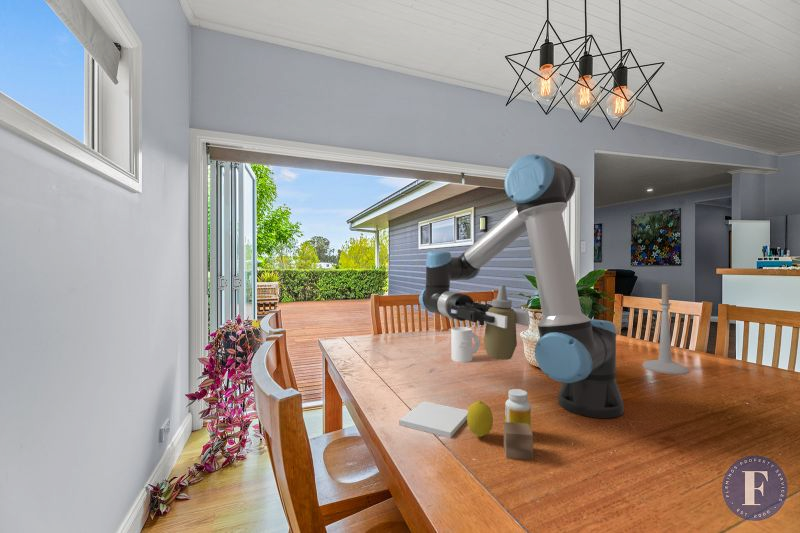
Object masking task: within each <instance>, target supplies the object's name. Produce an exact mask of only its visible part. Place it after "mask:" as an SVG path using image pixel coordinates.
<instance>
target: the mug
mask: <svg viewBox="0 0 800 533" xmlns="http://www.w3.org/2000/svg"><path fill="white" fill-rule="evenodd" d="M450 330H451V332H450V339H451V340H450V342H451V343H450V344H451V345H450V348H451V350H450V353H451V354H450V355H451V356H450V357H451V360H452V361H453V362H456V363H470V362H472V361H473V355H474V354H476V352H477V351H478V350H479V348H480V345H481V339H480V338H479V335H477V334H476V333H475V332H473V329H472V328H471V327H467V326H455V327H452V328H451V329H450ZM473 340H474V345H473Z"/></svg>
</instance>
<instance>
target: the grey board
mask: <svg viewBox="0 0 800 533" xmlns="http://www.w3.org/2000/svg"><path fill="white" fill-rule="evenodd" d="M468 410H469V409H463V408H457V407H453V406H448V405H443V404H438V403H434V402H429V401H424V400H423V401H421V403H419V404H417V405H416V406H415V407H414V408H413V409H411V410H410V411H409V412H407V413H406V414H404V415H403V416H402V417H401V418H399V419H398V425H399V426H401V427H406V428H410V429H413V430H418V431H422V432H425V433H429V434H433V435H438V436H441V437H445V438H450V439H451V438H452V437H453V436H454V435H455V433H456V432H457V431H458V430H460V428H461V427H462V426H463V425H464V423H465V422H467V413H468Z"/></svg>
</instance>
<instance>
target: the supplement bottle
mask: <svg viewBox="0 0 800 533" xmlns="http://www.w3.org/2000/svg"><path fill="white" fill-rule="evenodd" d="M528 396H529V395H528V392H527V391H526V390H525V389H524V390H523V389H520V388H512V389H509V390H508V399H507V400H506V401H505V402H504V403H505V405H504V407H505V408H504V413H505V414H504V416H505V417H504V422H509V423H524V424H529V426H530V429H531V430H532V428H531V427H532V426H531V425H532V424H531V422H532V420H531V419H532V418H531V417H532V416H531V415H532V414H531V412H532V411H531V409H532V407H531V403H530V402H529V401H528V399H529V398H528Z"/></svg>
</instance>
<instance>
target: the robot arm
mask: <svg viewBox="0 0 800 533" xmlns="http://www.w3.org/2000/svg"><path fill="white" fill-rule="evenodd" d="M504 190H505V193H506V195H507V197H508V198H509V199H510V200H511V201H513V202H515V206H514V208H512V209H511V210H510V211H509V212H508V213H507V214H506V215H505V216H503V218H501V219H500V220H499V221H498V222H497V223H496V224H494V225H493V226H492V227H491V228H489V230H488V231H486V232H485V233H484V234H483V235H482V236H480V237H479V239H478V240H476V241H475V242H474V243H473V244H472V245H471V246H469V247H468V249H466V250H465V251H464V252H463V253H461V254H460V255H459V256H458V257H457V256H455V257H453V256H452V255H451V252H450V251H436V250H435V251H434V250H433V251H432V250H430V251H428V252H427V253H426V254H427V255H426V261H425V262H426V263H425V287H424V288H423V289H422V290H421V292H420V294H419V296H418V302H419V305H420V306H421V308H422V309H424V310H426V311H428V312H430V313H432V314H433V313H434V314H437V315H440V316H441V315H442V316H444V317H447V318H448V319H449V320H451V319H454V320H457V321H462V322H463V321H469V322H471V323H477V322H479V324H478V325H479V326H485V324H486V323H488V324H491V325H495V326H498V327H502V328H507V316H503V315H499V314H495V313H491V312H488V309H490V308H491V307H494V306H492V304H490V303H486V304H484V303H480V302H476V301H474V300H473V298H472V297H471V296H470V295H468V294H464V293H459V292H457V291H456V292H455V291H450V287H451V286H450V285H451V281H462V280H463V281H464V280H465V281H468V280H472V279H475V278H477V276H479V274H480V271H481V268H483V267H484V266H485V265H487V263H489V262H490V261H491V260H492V259H494V258H495V257H497V255H499V254H501V253H502V252H503V251H504V250H505V249H507V248H508V247H509V246H510V245H512V244H513V243H514V242H515V241H516V240H517V239H520V237H521V236H522V235H524V234H525V233H526V232H527V238H528V243H529V248H530V254H531V259H532V260H531V261H532V265H533V271H534V276H535V281H536V286H537V292H538V297H539V303H540V309H541V314H542V318H541V320H539V322H538V323H537V329H538V335H539V339H538V340H537V342H536V344H535V348H534V357H535V361H536V363H537V365H538V368H540V370H541V371H542V372H543V373H544V374H545V375H546V376H548V378H550V379H551V380H553V381H555V382H559V383H562V384H561V386H560V389H559V392H558V404H559V406H561V407H562V408H564V410H567V411H569V412H571V413H574V414H577V415H581V416H584V417H590V418H597V419H612V418H618V417H622V415H623V414H624V412H625V410H624V407H625V406H624V405H625V404H624V400H623V397H622V394H621V392H620V389H619V387H618V383H617V378H616V375H617V374H616V367H617V365H616V364H617V359H616V358H617V356H616V355H617V354H616V353H617V346H616V345H617V343H616V342H617V330H616V328H617V327H616V324H615V323H614V322H613V321H611V320H610V321H609V320H603V319H602V320H601V319H595V318H594V319H593V318H590V317H588V316H587V315H586V314H584V313H583V311H582V309H581V303H580V297H579V294H578V288H577V282H576V277H575V272H574V268H573V262H572V257H571V253H570V248H569V243H568V237H567V232H566V226H565V221H564V215H563V213H564V211H566V209H567V207H568V203H569V201H570V200H571V199H572V197H573V195H574V193H575V190H576V178H575V175H574V173H573V171H572V170H571V169H570V168H569V167H568V166H567V165H564V164H562V163H561V162H557V161H555V160H553V159H550V158H549V157H547V156H545V155H542V154H540V155H539V154H535V153H534V154H533V153H532V154H526V155H524V156H522V157H519V158H517V159H516V160H515V161H514V162H513V163H512V165H510V168H509V170H507V172H506V174H505V177H504ZM512 309H513V308H512ZM514 309H515V308H514ZM514 309H513V310H514ZM514 311H515V310H514ZM529 316H530V314H527V313H524V312H519V311H515V319H516V325H517V324H518V325H521V326H525V327H528V326H529V318H530V317H529Z"/></svg>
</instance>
